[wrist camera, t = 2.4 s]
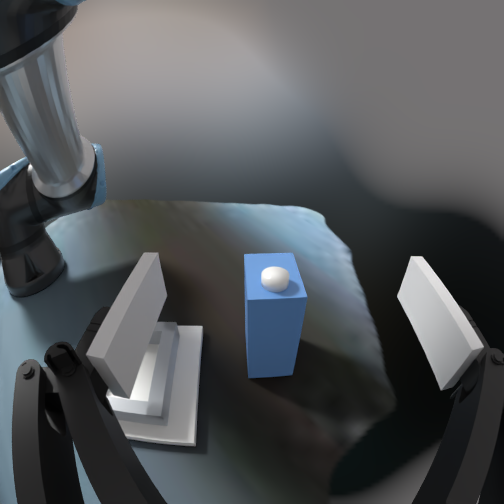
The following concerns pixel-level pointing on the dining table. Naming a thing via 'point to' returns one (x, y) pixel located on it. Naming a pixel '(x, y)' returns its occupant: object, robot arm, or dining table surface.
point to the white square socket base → (164, 388)
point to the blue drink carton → (272, 313)
